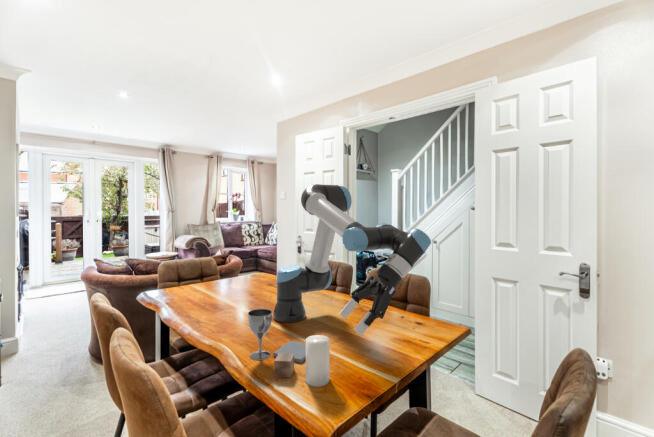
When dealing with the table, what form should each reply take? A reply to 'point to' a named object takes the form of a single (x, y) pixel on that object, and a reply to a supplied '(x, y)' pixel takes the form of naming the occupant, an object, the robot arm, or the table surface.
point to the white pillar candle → (317, 360)
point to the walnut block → (284, 365)
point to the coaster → (294, 350)
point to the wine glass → (260, 329)
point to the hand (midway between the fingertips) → (349, 324)
